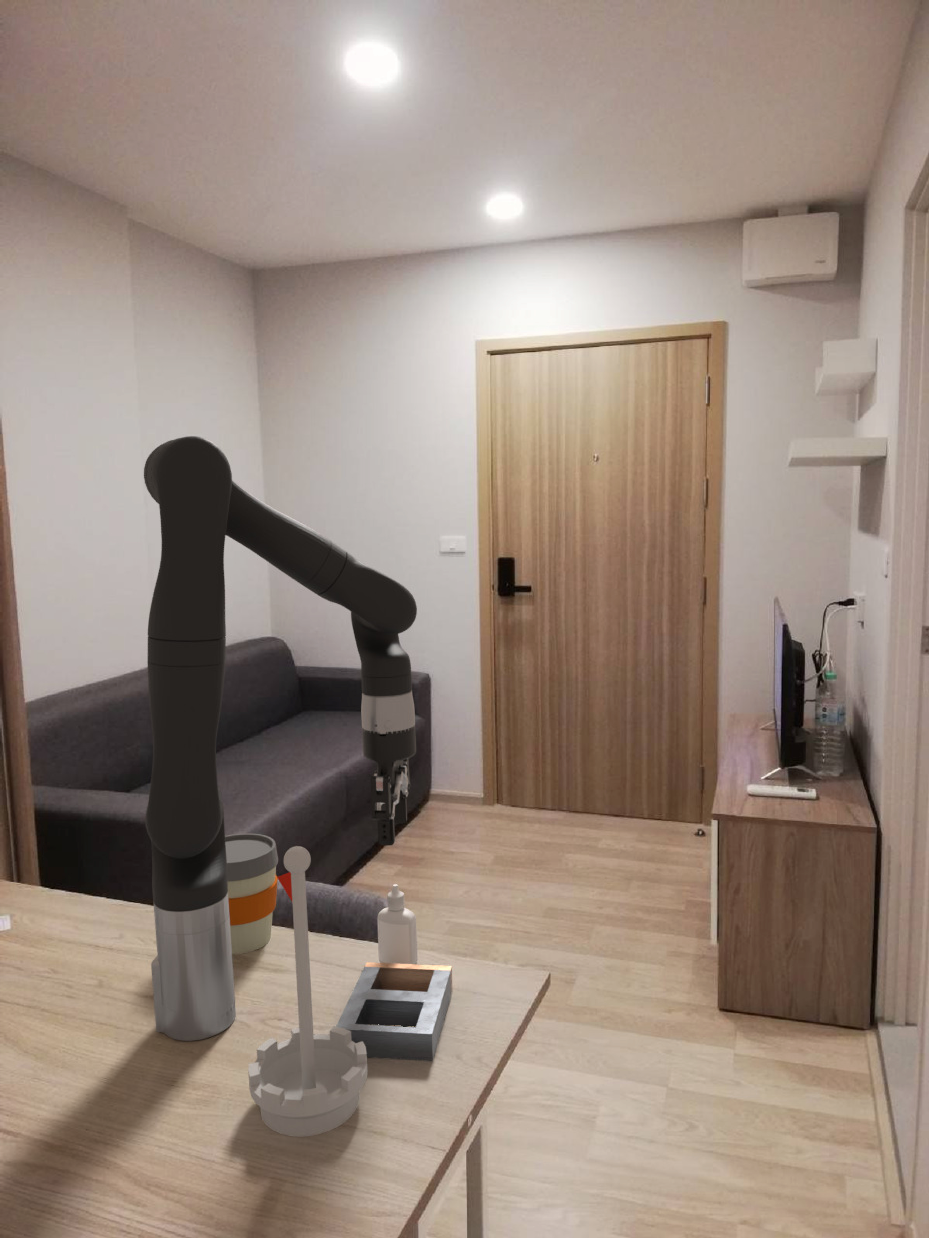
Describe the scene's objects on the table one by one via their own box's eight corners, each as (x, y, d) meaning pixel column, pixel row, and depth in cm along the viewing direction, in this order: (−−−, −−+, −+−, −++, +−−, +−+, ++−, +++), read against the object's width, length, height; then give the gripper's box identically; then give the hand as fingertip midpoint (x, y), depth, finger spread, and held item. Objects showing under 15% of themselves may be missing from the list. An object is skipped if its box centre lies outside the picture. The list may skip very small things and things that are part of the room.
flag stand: (391, 1106, 99) (380, 848, 96) (285, 1161, 91) (269, 882, 88) (331, 1052, 110) (319, 817, 106) (231, 1098, 101) (215, 845, 98)
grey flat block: (336, 1055, 109) (334, 1028, 108) (367, 985, 125) (366, 962, 124) (432, 1061, 107) (431, 1033, 107) (452, 989, 123) (451, 965, 122)
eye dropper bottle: (396, 975, 127) (393, 895, 125) (375, 960, 131) (372, 883, 130) (421, 965, 130) (418, 886, 128) (399, 951, 134) (396, 875, 133)
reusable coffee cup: (185, 940, 139) (179, 848, 137) (256, 913, 148) (251, 826, 146) (224, 969, 130) (217, 871, 128) (297, 939, 139) (293, 846, 137)
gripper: (374, 711, 133) (379, 815, 136) (349, 735, 119) (355, 851, 122) (423, 711, 132) (427, 816, 134) (404, 736, 118) (409, 853, 120)
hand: (393, 833), depth 128 cm, fingers open, 8 cm apart
